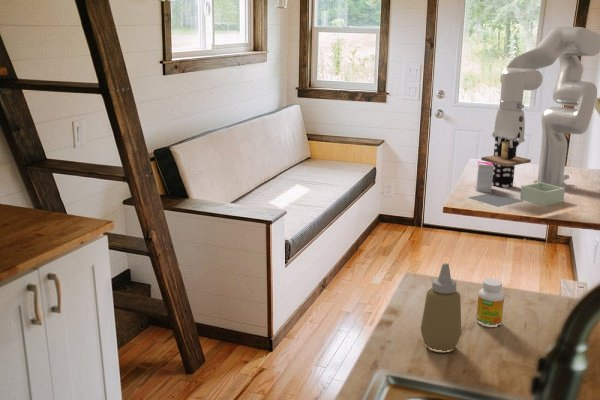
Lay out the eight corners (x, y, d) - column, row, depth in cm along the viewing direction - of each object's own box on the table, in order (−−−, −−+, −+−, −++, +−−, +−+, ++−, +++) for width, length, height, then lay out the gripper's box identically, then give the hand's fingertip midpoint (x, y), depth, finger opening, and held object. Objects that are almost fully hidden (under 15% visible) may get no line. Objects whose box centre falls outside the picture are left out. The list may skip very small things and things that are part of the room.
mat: (493, 194, 245) (493, 192, 245) (523, 203, 234) (524, 200, 234) (467, 200, 238) (467, 197, 237) (497, 209, 226) (498, 206, 226)
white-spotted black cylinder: (487, 187, 256) (491, 137, 251) (496, 183, 262) (501, 135, 256) (506, 191, 251) (511, 140, 245) (516, 187, 256) (521, 137, 251)
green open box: (538, 197, 242) (539, 182, 240) (563, 204, 233) (565, 188, 232) (519, 201, 236) (521, 185, 234) (544, 208, 228) (546, 192, 226)
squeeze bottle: (415, 338, 134) (420, 257, 130) (452, 337, 135) (459, 256, 130) (425, 357, 127) (431, 272, 122) (465, 356, 127) (472, 271, 122)
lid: (503, 156, 240) (505, 137, 238) (530, 162, 230) (532, 143, 228) (481, 160, 233) (482, 141, 231) (507, 166, 224) (509, 146, 222)
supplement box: (491, 194, 246) (494, 165, 243) (475, 193, 247) (477, 164, 244) (490, 190, 251) (492, 161, 248) (474, 189, 252) (477, 161, 249)
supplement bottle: (477, 327, 139) (480, 285, 137) (474, 316, 144) (478, 276, 142) (502, 329, 139) (507, 287, 136) (499, 318, 144) (503, 278, 141)
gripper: (537, 108, 221) (532, 160, 226) (499, 102, 235) (495, 152, 240) (523, 109, 217) (518, 162, 223) (485, 104, 231) (481, 154, 236)
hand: (506, 156), depth 231 cm, fingers closed on lid, 3 cm apart
